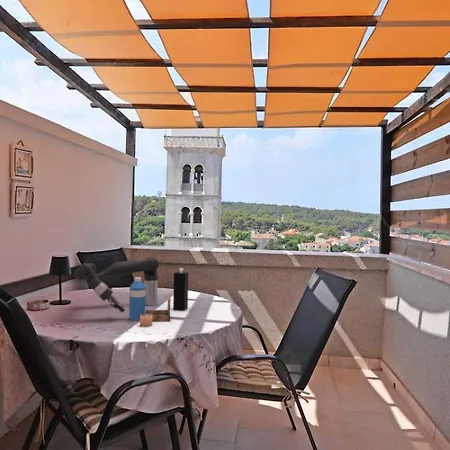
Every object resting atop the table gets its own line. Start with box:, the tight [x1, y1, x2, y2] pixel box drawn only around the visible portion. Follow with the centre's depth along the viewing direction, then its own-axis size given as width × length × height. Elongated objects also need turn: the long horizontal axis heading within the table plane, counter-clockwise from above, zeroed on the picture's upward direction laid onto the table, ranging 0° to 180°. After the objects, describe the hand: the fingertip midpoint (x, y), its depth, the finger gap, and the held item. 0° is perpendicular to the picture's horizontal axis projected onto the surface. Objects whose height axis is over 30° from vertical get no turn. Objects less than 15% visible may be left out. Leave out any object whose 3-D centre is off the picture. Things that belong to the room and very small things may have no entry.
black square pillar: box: [172, 267, 189, 312], centre depth 286 cm, size 8×8×28 cm
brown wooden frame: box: [145, 294, 172, 323], centre depth 260 cm, size 15×15×13 cm
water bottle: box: [128, 276, 146, 322], centre depth 258 cm, size 9×9×25 cm
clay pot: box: [139, 312, 153, 328], centre depth 244 cm, size 7×7×6 cm
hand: (123, 311), depth 256 cm, fingers closed
